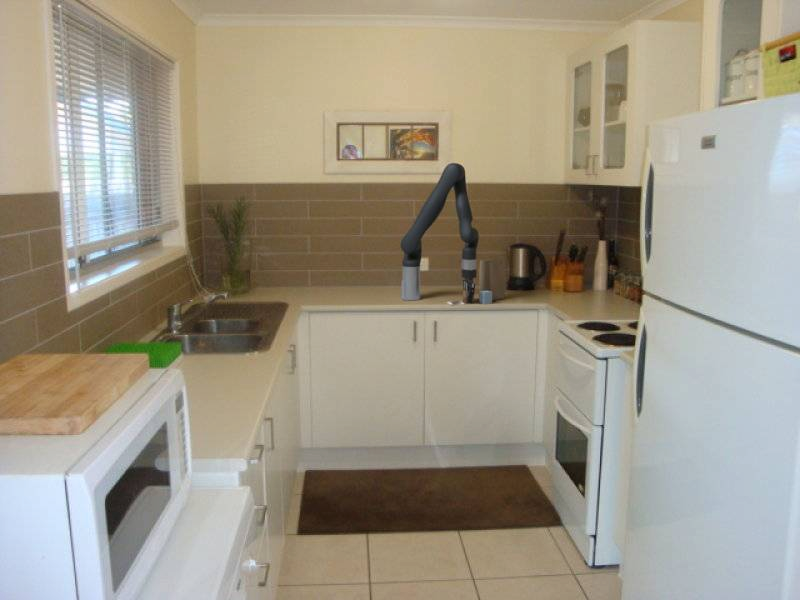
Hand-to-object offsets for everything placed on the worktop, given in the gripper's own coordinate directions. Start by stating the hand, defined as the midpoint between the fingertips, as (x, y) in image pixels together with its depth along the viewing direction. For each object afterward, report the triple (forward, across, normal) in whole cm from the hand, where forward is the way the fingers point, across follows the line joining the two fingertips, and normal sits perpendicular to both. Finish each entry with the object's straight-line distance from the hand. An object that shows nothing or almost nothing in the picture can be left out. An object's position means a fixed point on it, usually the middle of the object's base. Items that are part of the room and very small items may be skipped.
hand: (468, 301), depth 355 cm
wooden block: (+1, -8, +15) cm, 17 cm away
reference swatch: (+1, +1, -7) cm, 7 cm away
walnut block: (+1, 0, 0) cm, 1 cm away
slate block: (+1, +3, +8) cm, 9 cm away
